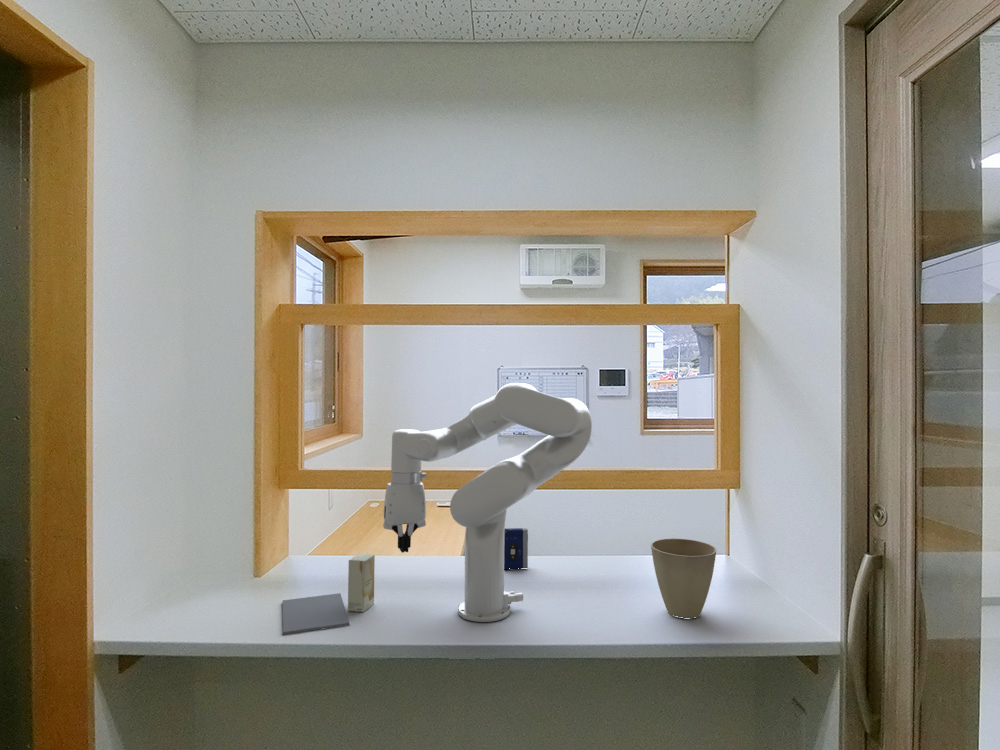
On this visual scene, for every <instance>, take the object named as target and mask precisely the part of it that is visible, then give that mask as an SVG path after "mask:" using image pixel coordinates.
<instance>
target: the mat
mask: <svg viewBox="0 0 1000 750" xmlns="http://www.w3.org/2000/svg"><path fill="white" fill-rule="evenodd" d="M345 625H348V626H350V620H349V617H348V614H347V610H346V607H345V603H344V599H343V597H342V595H341V593H339V592H337V593H331V594H324V595H323V594H322V595H315V596H307V597H299V598H298V597H297V598H291V599H284V600H282V635H283V636H284V635H292V633H293V634H299V633H306V632H305V631H307V632H312V631H311V630H314V631H318V630H317V629H321V630H323V629H322V628H328V629H332V628H331V627H334V628H338V627H337V626H341V627H346V626H345Z"/></svg>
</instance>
